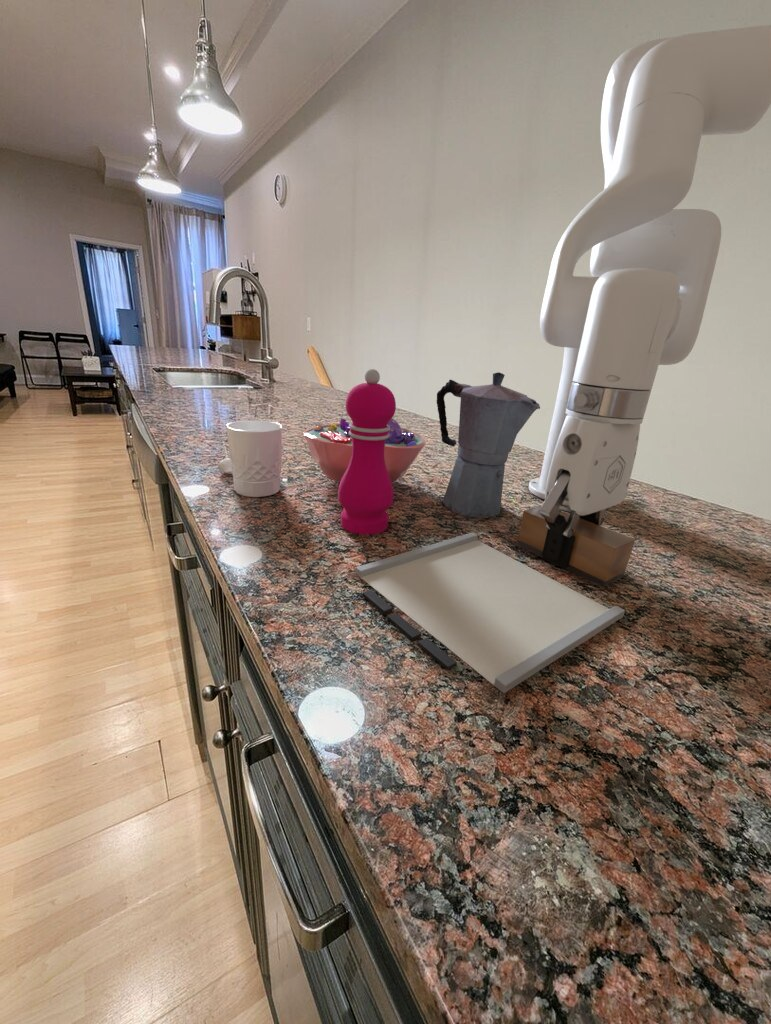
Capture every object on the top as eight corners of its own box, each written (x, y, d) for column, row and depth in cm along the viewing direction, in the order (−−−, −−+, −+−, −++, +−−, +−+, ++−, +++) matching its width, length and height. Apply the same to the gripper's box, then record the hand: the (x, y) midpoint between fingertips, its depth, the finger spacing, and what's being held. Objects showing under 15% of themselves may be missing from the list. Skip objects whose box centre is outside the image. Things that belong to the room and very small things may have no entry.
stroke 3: (416, 648, 37) (417, 641, 37) (425, 643, 38) (426, 637, 38) (447, 673, 35) (448, 666, 35) (456, 669, 35) (457, 662, 35)
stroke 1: (362, 598, 44) (362, 592, 43) (370, 595, 44) (371, 589, 44) (384, 617, 41) (384, 611, 41) (392, 614, 42) (393, 607, 41)
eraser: (537, 539, 59) (545, 504, 57) (623, 578, 51) (635, 539, 49) (516, 546, 57) (523, 510, 55) (602, 589, 48) (614, 548, 46)
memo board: (471, 538, 58) (472, 532, 57) (622, 618, 43) (625, 610, 43) (355, 575, 47) (355, 567, 47) (503, 696, 33) (505, 685, 33)
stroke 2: (386, 622, 40) (387, 615, 40) (395, 618, 41) (395, 612, 41) (412, 644, 38) (412, 637, 38) (420, 640, 38) (421, 633, 38)
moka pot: (507, 531, 61) (536, 379, 53) (409, 503, 68) (422, 366, 60) (527, 511, 68) (555, 375, 61) (437, 487, 76) (451, 364, 68)
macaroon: (247, 470, 77) (246, 456, 76) (240, 479, 73) (239, 464, 72) (222, 469, 77) (221, 455, 76) (213, 478, 73) (212, 463, 72)
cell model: (319, 462, 85) (320, 402, 80) (424, 473, 83) (431, 412, 78) (289, 491, 69) (288, 418, 65) (417, 506, 67) (425, 432, 63)
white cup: (237, 480, 72) (233, 418, 68) (286, 482, 73) (285, 421, 69) (225, 498, 65) (220, 430, 61) (280, 499, 66) (278, 432, 62)
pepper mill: (385, 541, 55) (397, 374, 48) (329, 533, 57) (333, 368, 49) (395, 519, 62) (408, 369, 54) (345, 512, 63) (351, 364, 56)
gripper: (597, 414, 39) (553, 592, 46) (678, 406, 49) (631, 554, 56) (526, 400, 45) (496, 561, 51) (612, 396, 54) (577, 531, 61)
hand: (567, 556), depth 54 cm, fingers closed on eraser, 4 cm apart
